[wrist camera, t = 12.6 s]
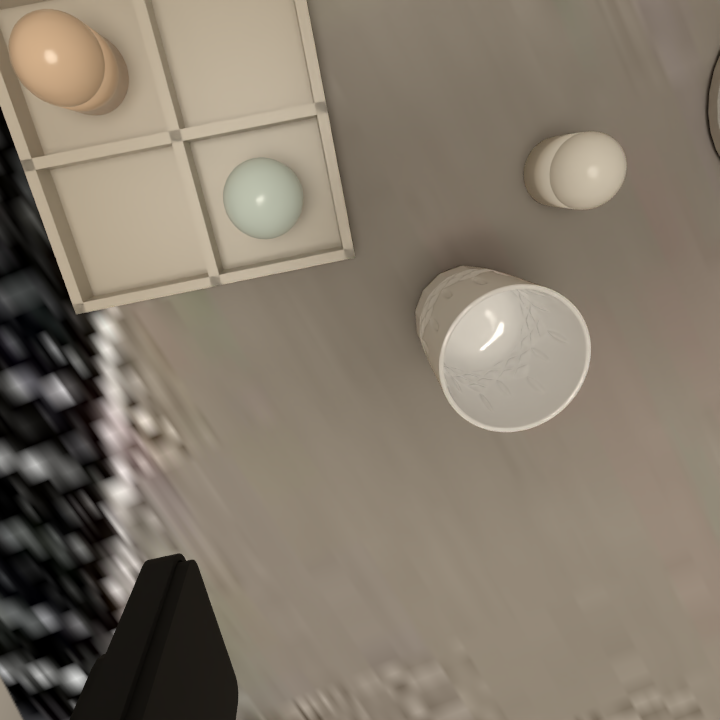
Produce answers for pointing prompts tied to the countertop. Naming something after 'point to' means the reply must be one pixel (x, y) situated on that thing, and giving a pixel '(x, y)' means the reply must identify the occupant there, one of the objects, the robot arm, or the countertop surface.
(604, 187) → the white egg
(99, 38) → the brown egg
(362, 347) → the countertop surface
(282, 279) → the countertop surface
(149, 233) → the egg tray
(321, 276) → the countertop surface
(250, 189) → the green egg
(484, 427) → the white cup
